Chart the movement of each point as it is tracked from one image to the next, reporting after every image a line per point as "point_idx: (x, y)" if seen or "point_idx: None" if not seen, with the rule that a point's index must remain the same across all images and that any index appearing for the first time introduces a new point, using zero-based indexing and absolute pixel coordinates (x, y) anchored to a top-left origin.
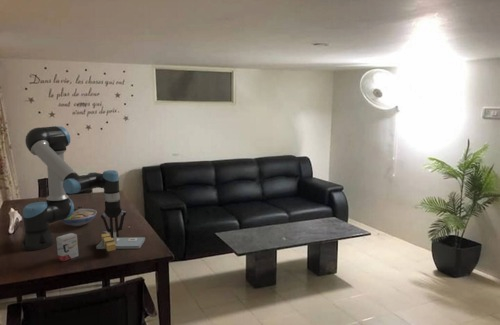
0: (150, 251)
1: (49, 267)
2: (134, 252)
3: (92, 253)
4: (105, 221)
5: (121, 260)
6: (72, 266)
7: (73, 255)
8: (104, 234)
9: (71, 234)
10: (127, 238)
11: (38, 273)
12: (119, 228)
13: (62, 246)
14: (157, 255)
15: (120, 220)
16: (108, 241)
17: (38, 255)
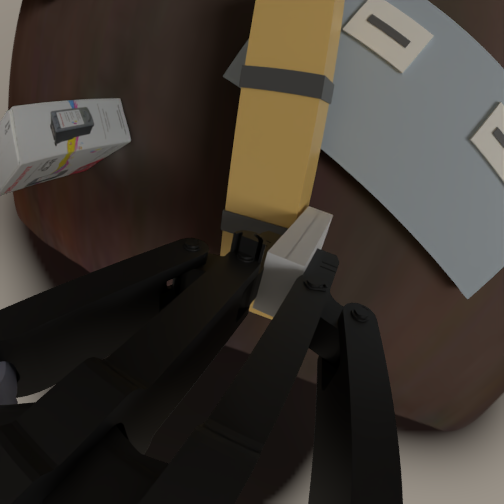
0: (462, 364)
1: (60, 192)
2: (403, 318)
3: (193, 142)
4: (71, 364)
5: None
6: (109, 242)
7: (104, 155)
8: (281, 2)
9: (7, 144)
10: (490, 79)
11: (47, 218)
12: (320, 359)
13: (27, 186)
14: (438, 412)
15: (341, 434)
16: (248, 226)
17: (49, 52)
